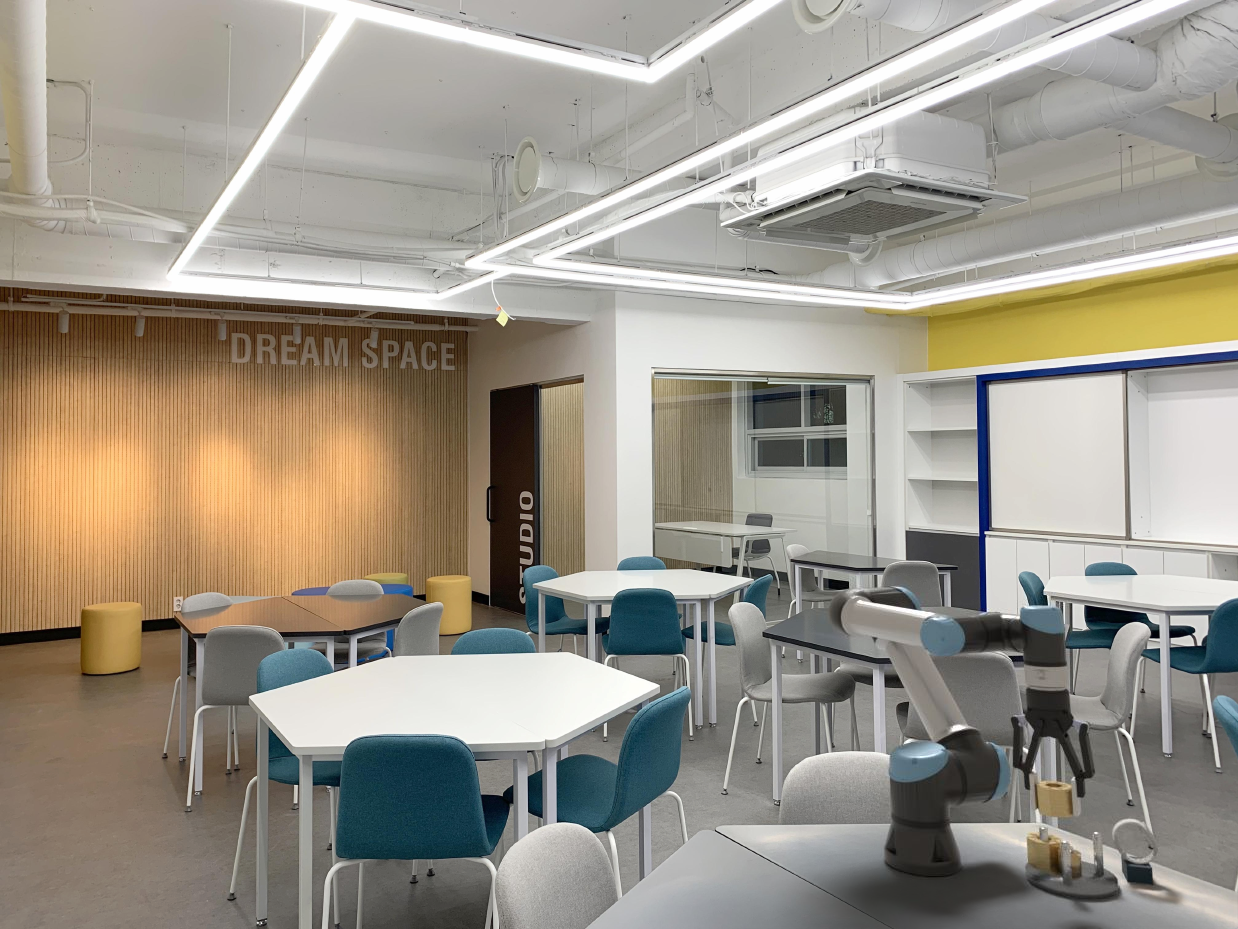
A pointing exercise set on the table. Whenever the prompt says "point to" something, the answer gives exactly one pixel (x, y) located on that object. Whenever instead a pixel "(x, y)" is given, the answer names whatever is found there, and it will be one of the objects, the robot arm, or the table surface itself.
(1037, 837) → the planet gear
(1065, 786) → the planet gear
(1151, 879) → the watch
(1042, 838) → the carrier
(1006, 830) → the table surface
